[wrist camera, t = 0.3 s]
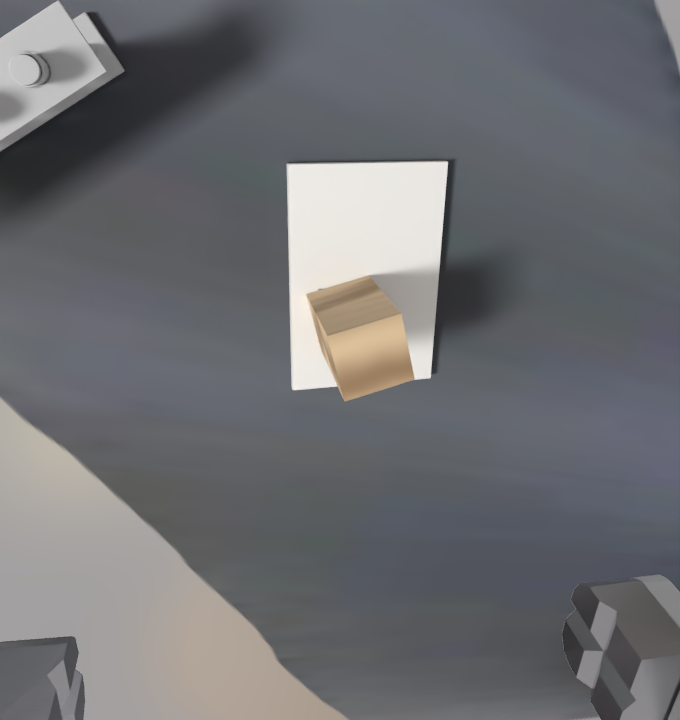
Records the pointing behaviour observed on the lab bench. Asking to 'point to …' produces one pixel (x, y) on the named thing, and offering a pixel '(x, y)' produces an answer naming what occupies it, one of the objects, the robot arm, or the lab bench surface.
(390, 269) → the plate
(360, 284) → the oak block
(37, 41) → the test tube rack
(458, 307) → the lab bench surface
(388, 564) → the lab bench surface
